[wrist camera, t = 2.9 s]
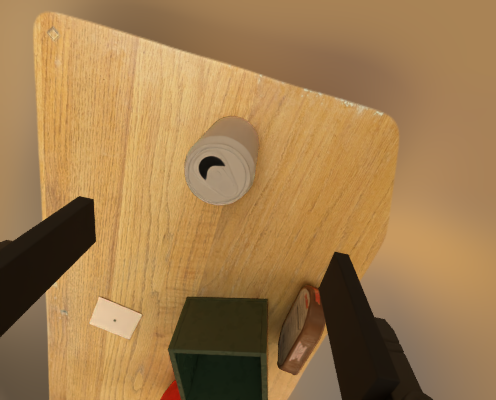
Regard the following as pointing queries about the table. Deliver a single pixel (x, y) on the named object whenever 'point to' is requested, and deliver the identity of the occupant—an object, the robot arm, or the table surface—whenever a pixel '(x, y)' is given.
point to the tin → (301, 330)
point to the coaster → (115, 318)
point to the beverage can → (223, 161)
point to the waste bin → (221, 349)
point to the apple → (171, 392)
